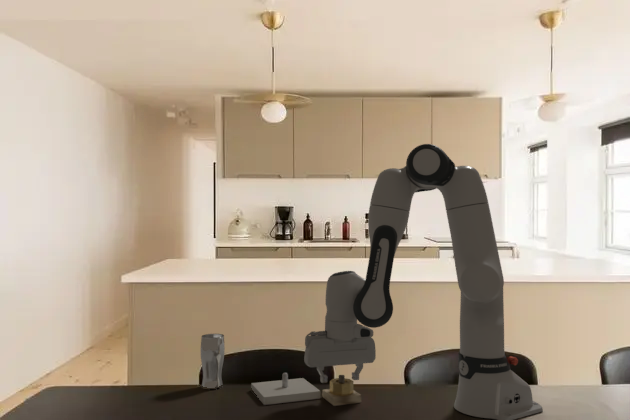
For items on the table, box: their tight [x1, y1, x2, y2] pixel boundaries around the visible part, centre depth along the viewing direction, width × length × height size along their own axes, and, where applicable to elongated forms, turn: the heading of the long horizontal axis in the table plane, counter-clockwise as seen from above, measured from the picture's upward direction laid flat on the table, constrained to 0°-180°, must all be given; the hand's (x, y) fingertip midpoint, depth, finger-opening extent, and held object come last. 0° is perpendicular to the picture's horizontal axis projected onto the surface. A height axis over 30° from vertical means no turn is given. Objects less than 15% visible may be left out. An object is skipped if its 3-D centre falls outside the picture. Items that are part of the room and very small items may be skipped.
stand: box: [321, 374, 362, 407], centre depth 142 cm, size 8×8×6 cm
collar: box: [329, 377, 354, 396], centre depth 142 cm, size 6×6×3 cm
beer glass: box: [200, 333, 226, 388], centre depth 153 cm, size 7×7×15 cm
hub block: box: [250, 372, 321, 406], centre depth 146 cm, size 16×14×6 cm
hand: (339, 380), depth 142 cm, fingers open, 8 cm apart
